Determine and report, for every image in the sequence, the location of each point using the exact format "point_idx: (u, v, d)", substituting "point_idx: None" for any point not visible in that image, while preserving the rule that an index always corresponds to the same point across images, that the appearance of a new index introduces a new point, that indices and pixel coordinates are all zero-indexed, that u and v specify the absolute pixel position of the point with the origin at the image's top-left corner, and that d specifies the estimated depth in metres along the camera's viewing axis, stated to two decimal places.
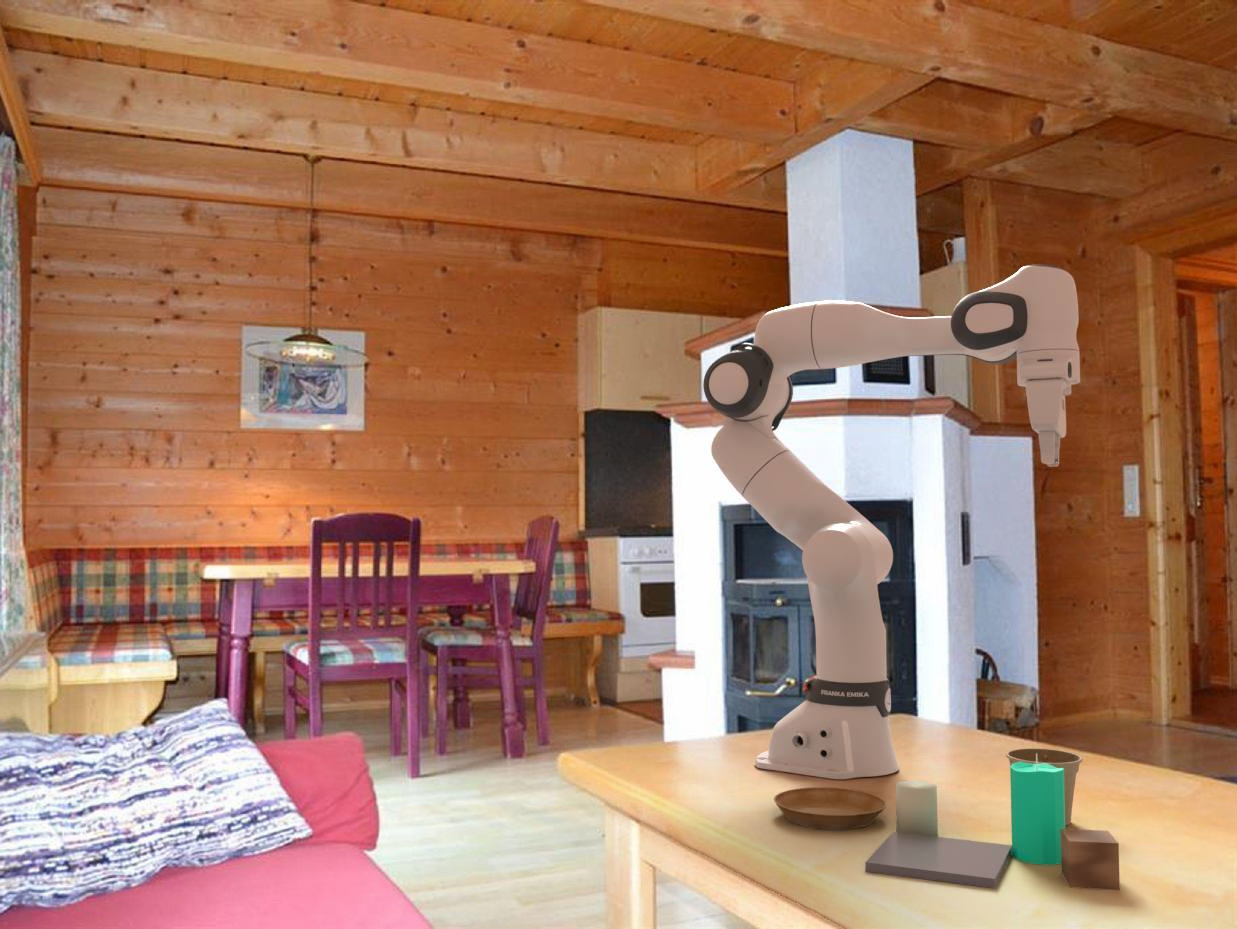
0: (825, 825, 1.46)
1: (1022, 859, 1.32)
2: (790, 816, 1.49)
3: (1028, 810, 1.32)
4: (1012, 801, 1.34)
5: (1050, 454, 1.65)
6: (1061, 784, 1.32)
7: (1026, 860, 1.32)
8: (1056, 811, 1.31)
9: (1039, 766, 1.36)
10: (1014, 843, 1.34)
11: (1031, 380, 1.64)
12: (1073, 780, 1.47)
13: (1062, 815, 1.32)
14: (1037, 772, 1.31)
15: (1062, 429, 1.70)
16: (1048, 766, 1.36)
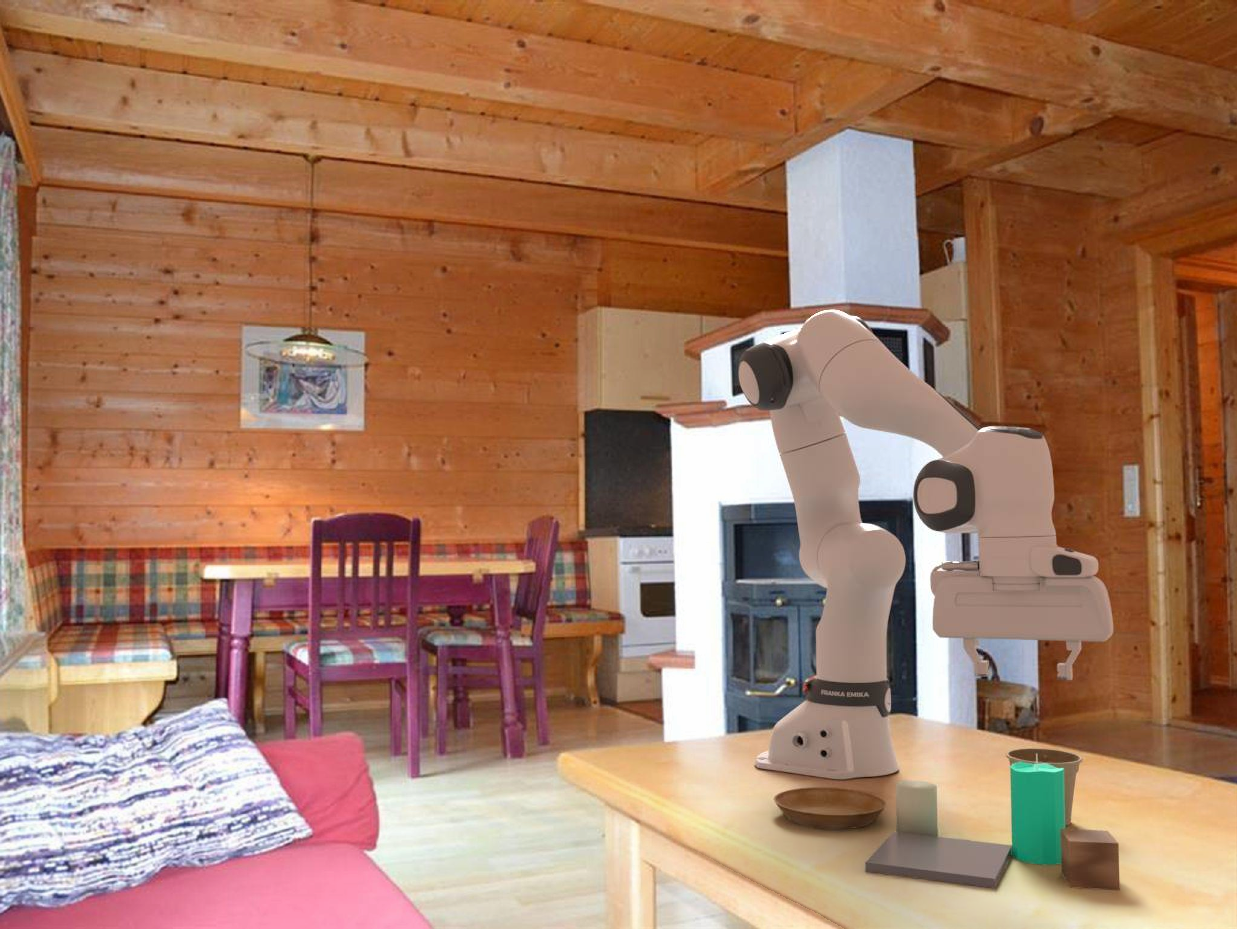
0: (825, 825, 1.46)
1: (1022, 859, 1.32)
2: (790, 816, 1.49)
3: (1028, 810, 1.32)
4: (1012, 801, 1.34)
5: (1071, 667, 1.33)
6: (1061, 784, 1.32)
7: (1026, 860, 1.32)
8: (1056, 811, 1.31)
9: (1039, 766, 1.36)
10: (1014, 843, 1.34)
11: (1090, 578, 1.30)
12: (1073, 780, 1.47)
13: (1062, 815, 1.32)
14: (1037, 772, 1.31)
15: None
16: (1048, 766, 1.36)
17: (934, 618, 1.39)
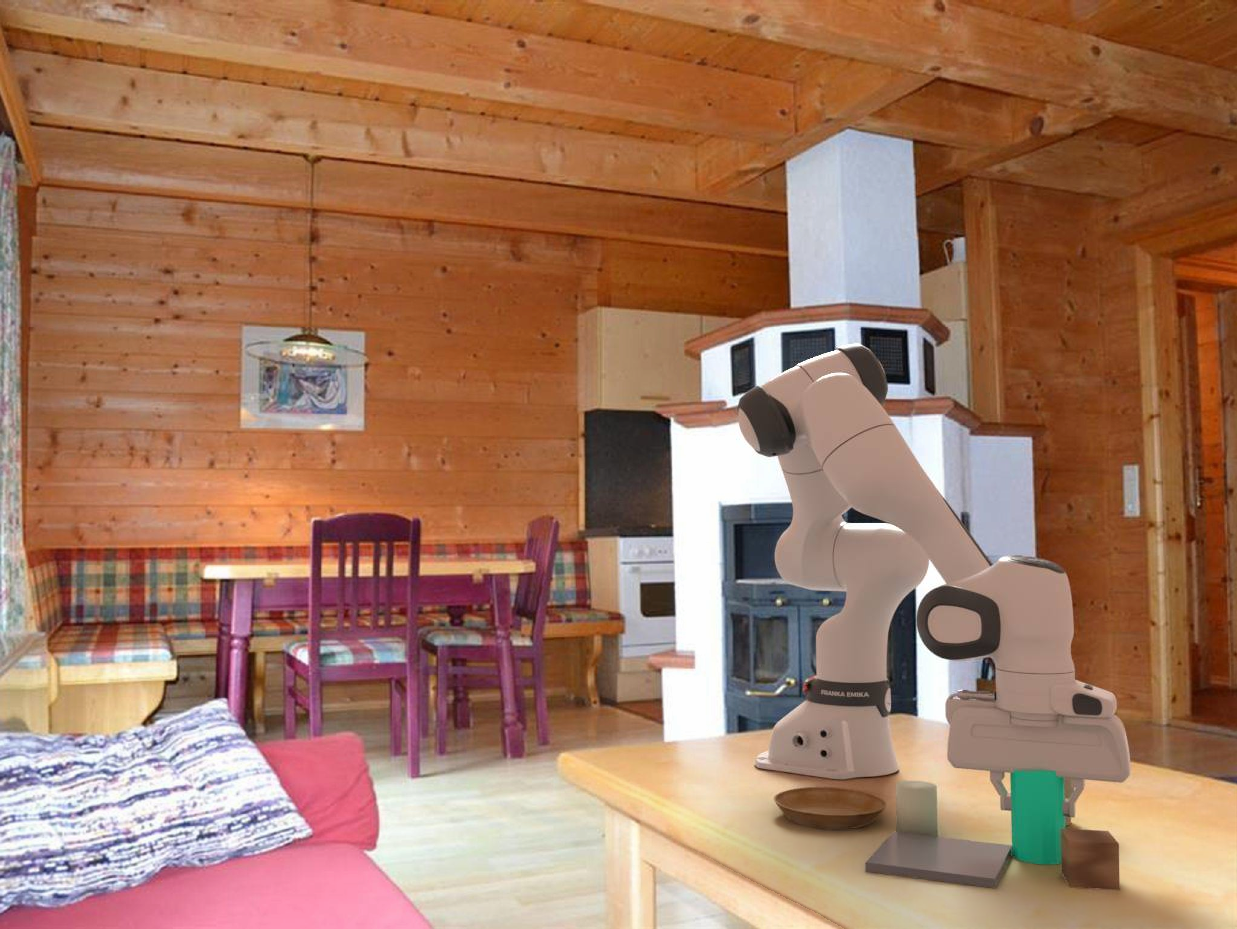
0: (825, 825, 1.46)
1: (1022, 859, 1.32)
2: (790, 816, 1.49)
3: (1028, 809, 1.32)
4: (1012, 801, 1.34)
5: None
6: (1061, 784, 1.32)
7: (1026, 860, 1.32)
8: (1056, 811, 1.31)
9: None
10: (1014, 843, 1.34)
11: (1109, 718, 1.29)
12: None
13: (1062, 815, 1.32)
14: (1037, 772, 1.31)
15: None
16: None
17: (949, 748, 1.37)
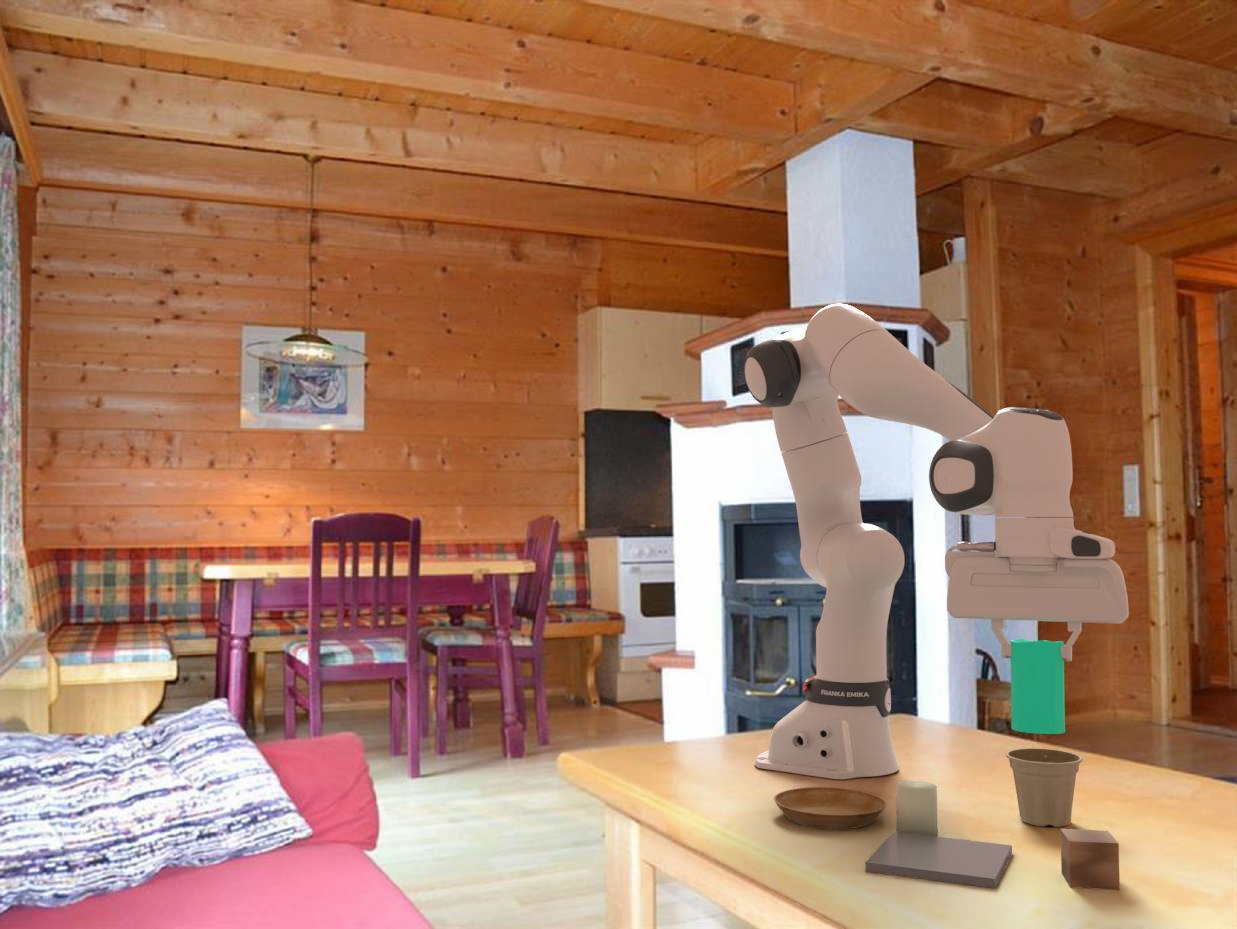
0: (825, 825, 1.46)
1: (1022, 730, 1.33)
2: (790, 816, 1.49)
3: (1028, 679, 1.32)
4: (1012, 674, 1.35)
5: (1071, 649, 1.34)
6: (1061, 655, 1.33)
7: (1026, 730, 1.32)
8: (1056, 681, 1.32)
9: None
10: (1014, 715, 1.34)
11: (1108, 560, 1.30)
12: (1073, 780, 1.47)
13: (1062, 686, 1.33)
14: (1037, 642, 1.32)
15: None
16: None
17: (949, 598, 1.38)
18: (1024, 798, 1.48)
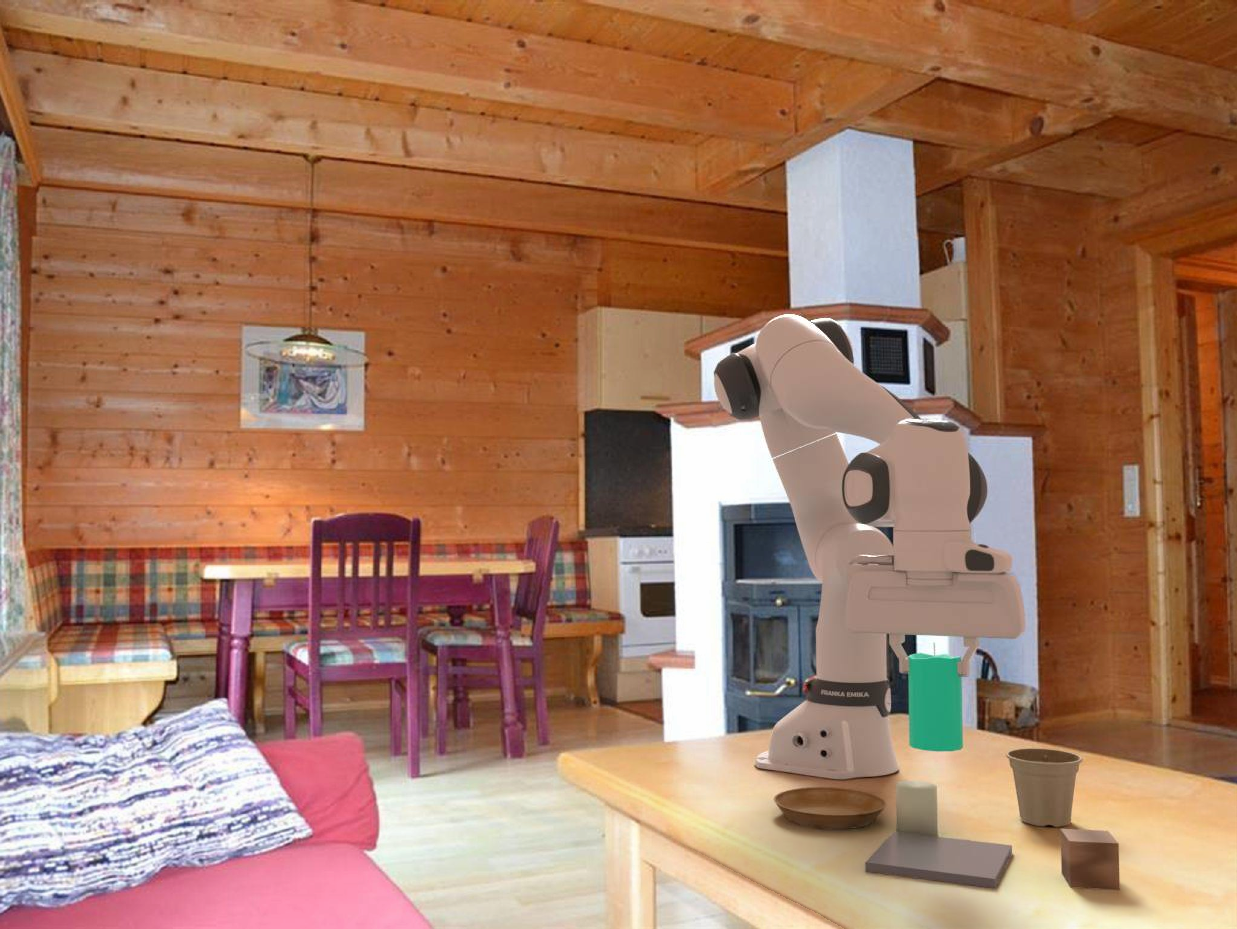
0: (826, 825, 1.46)
1: (918, 747, 1.31)
2: (790, 816, 1.49)
3: (923, 697, 1.31)
4: (909, 690, 1.33)
5: (968, 664, 1.32)
6: (957, 671, 1.31)
7: (921, 747, 1.31)
8: (952, 698, 1.30)
9: (938, 657, 1.35)
10: (911, 732, 1.33)
11: (1002, 574, 1.28)
12: (1073, 780, 1.47)
13: (958, 702, 1.31)
14: (932, 658, 1.30)
15: None
16: (947, 656, 1.35)
17: (847, 612, 1.36)
18: (1024, 798, 1.48)
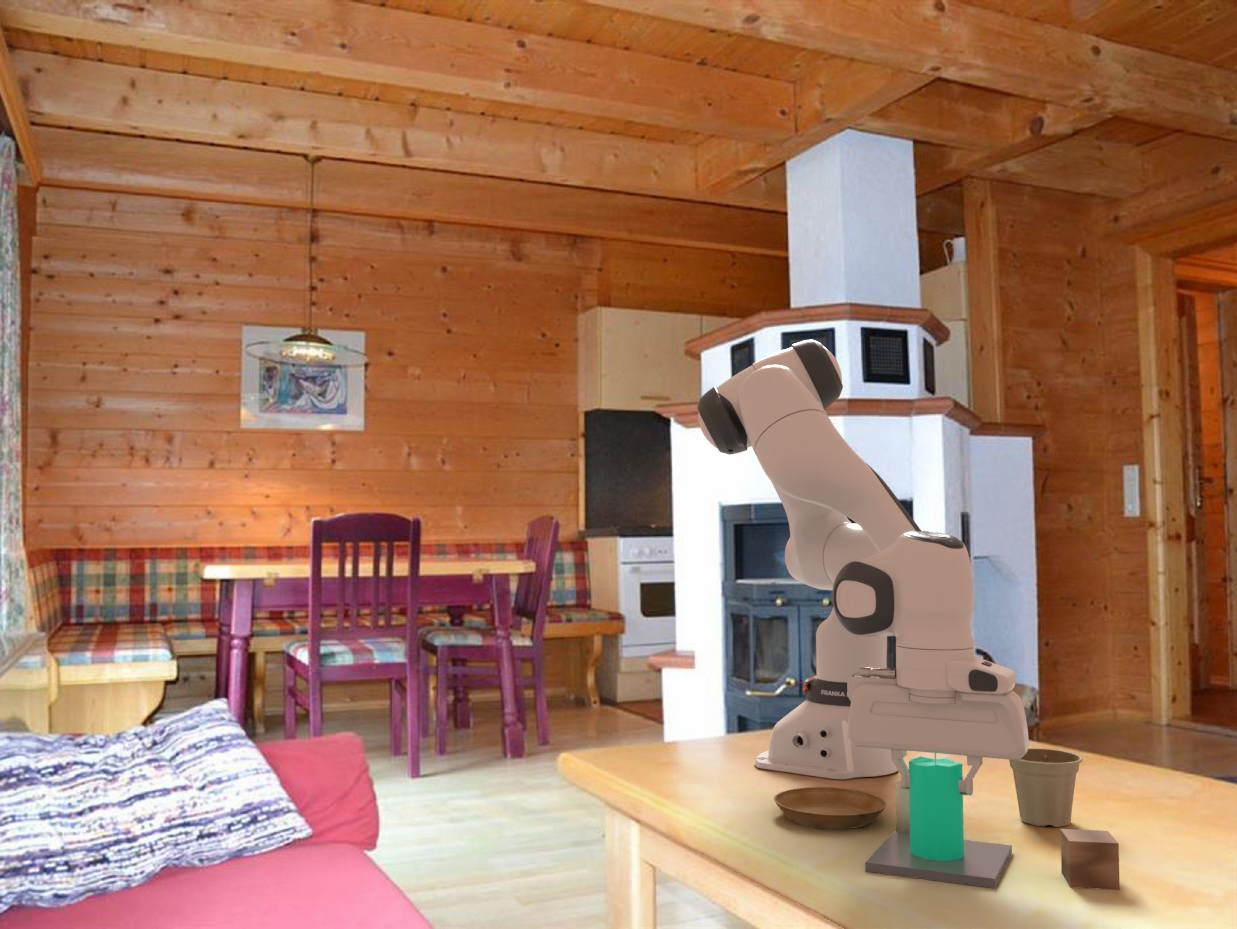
0: (826, 825, 1.46)
1: (919, 855, 1.30)
2: (791, 816, 1.49)
3: (924, 805, 1.30)
4: (910, 796, 1.32)
5: (972, 782, 1.31)
6: (958, 779, 1.30)
7: (922, 856, 1.30)
8: (953, 806, 1.30)
9: (939, 761, 1.35)
10: (912, 839, 1.32)
11: (1006, 694, 1.28)
12: (1073, 780, 1.47)
13: (959, 810, 1.30)
14: (933, 767, 1.30)
15: None
16: (948, 761, 1.34)
17: (849, 726, 1.35)
18: (1024, 798, 1.48)
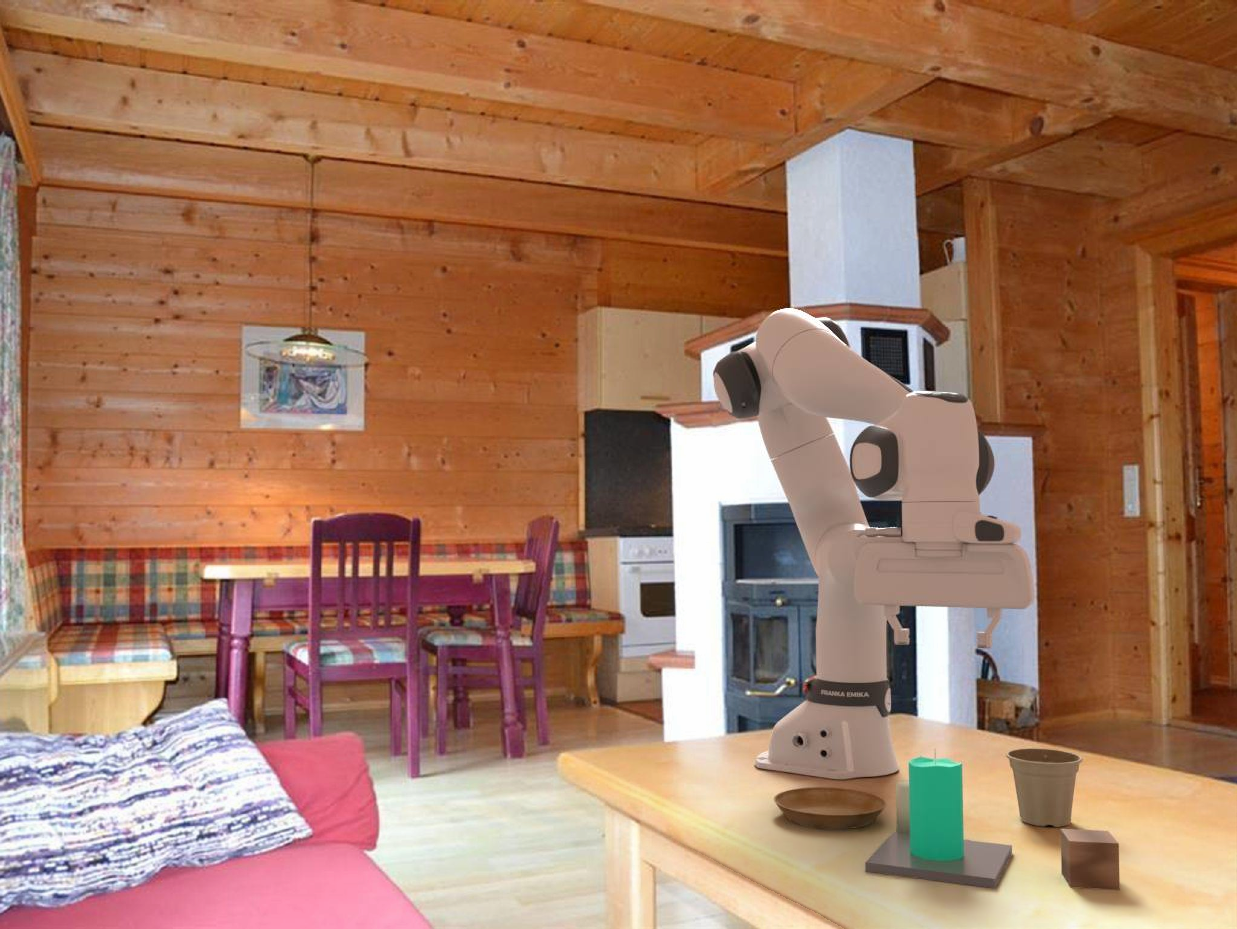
0: (826, 825, 1.46)
1: (919, 855, 1.30)
2: (791, 816, 1.49)
3: (924, 805, 1.30)
4: (910, 796, 1.32)
5: (991, 636, 1.31)
6: (958, 779, 1.30)
7: (922, 856, 1.30)
8: (952, 806, 1.30)
9: (939, 761, 1.35)
10: (912, 839, 1.32)
11: (1012, 544, 1.29)
12: (1073, 780, 1.47)
13: (959, 810, 1.30)
14: (933, 767, 1.30)
15: None
16: (948, 761, 1.34)
17: (856, 584, 1.36)
18: (1024, 798, 1.48)
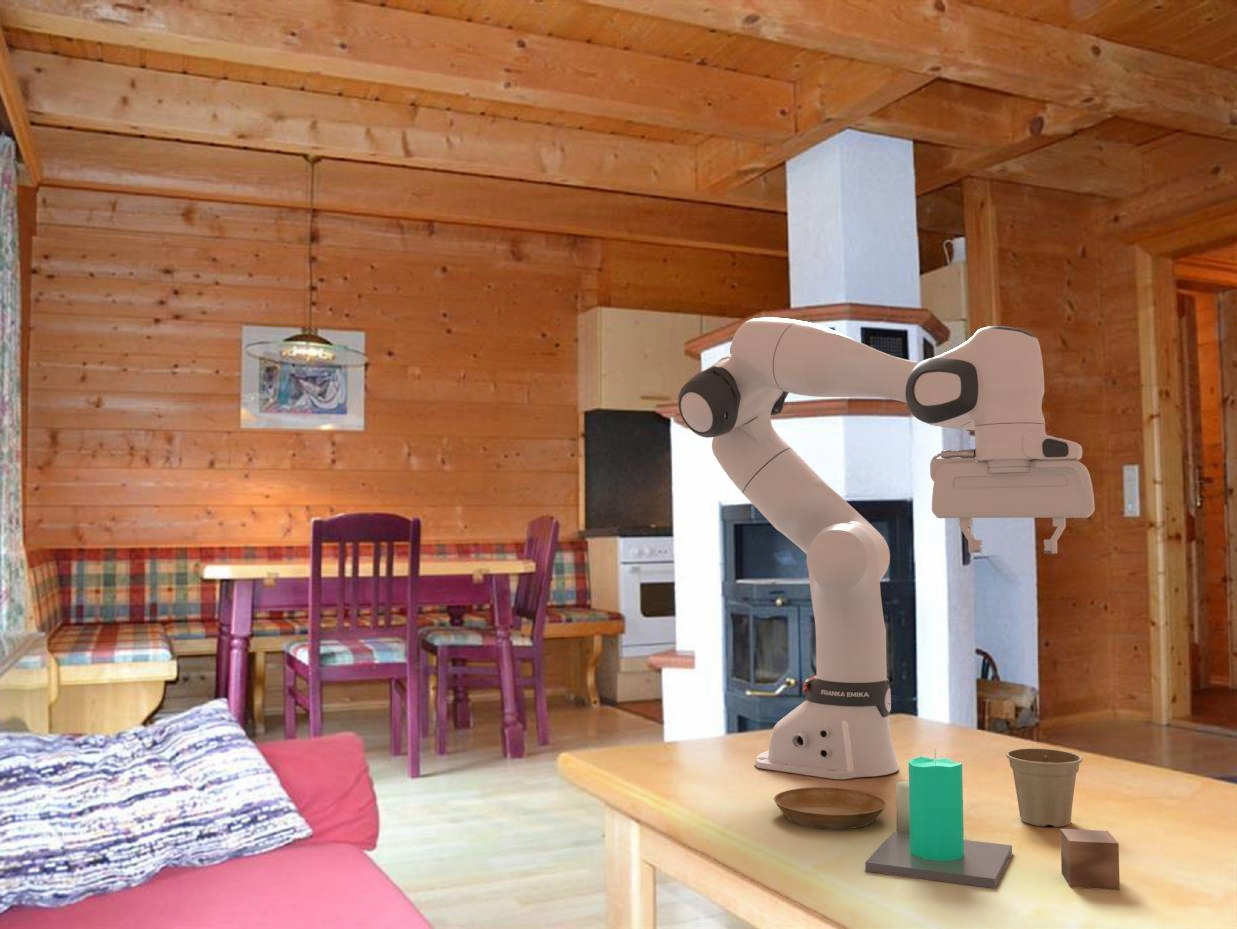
0: (826, 825, 1.46)
1: (919, 855, 1.30)
2: (791, 816, 1.49)
3: (924, 805, 1.30)
4: (910, 796, 1.32)
5: (1056, 543, 1.48)
6: (958, 779, 1.30)
7: (922, 856, 1.30)
8: (952, 806, 1.30)
9: (939, 761, 1.35)
10: (912, 839, 1.32)
11: (1075, 460, 1.45)
12: (1073, 780, 1.47)
13: (959, 810, 1.30)
14: (933, 767, 1.30)
15: None
16: (948, 761, 1.34)
17: (933, 500, 1.53)
18: (1024, 798, 1.48)
